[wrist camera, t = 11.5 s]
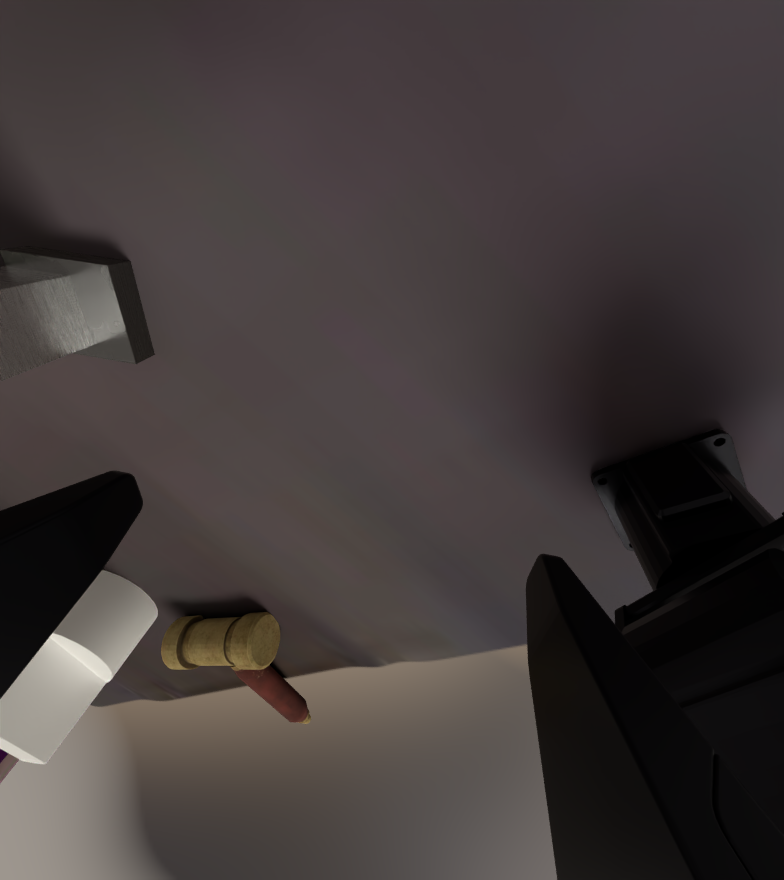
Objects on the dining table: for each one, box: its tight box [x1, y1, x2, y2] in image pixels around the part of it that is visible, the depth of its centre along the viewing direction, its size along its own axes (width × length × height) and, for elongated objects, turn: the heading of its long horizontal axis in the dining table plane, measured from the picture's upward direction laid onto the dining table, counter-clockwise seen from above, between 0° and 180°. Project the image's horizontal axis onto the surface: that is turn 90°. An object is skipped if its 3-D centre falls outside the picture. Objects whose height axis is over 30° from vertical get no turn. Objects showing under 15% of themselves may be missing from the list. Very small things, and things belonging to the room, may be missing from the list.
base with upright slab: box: [0, 570, 158, 764], centre depth 33 cm, size 9×9×12 cm
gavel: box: [161, 612, 311, 724], centre depth 40 cm, size 21×5×10 cm
